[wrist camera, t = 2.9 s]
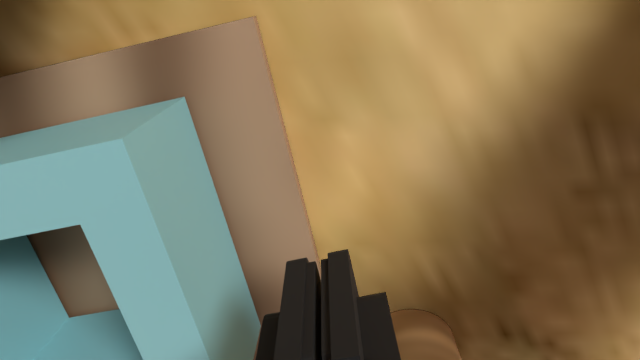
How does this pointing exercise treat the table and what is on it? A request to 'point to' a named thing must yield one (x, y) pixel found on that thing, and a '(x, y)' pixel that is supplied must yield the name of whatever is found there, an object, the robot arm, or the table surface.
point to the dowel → (423, 336)
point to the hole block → (122, 242)
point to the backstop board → (214, 136)
